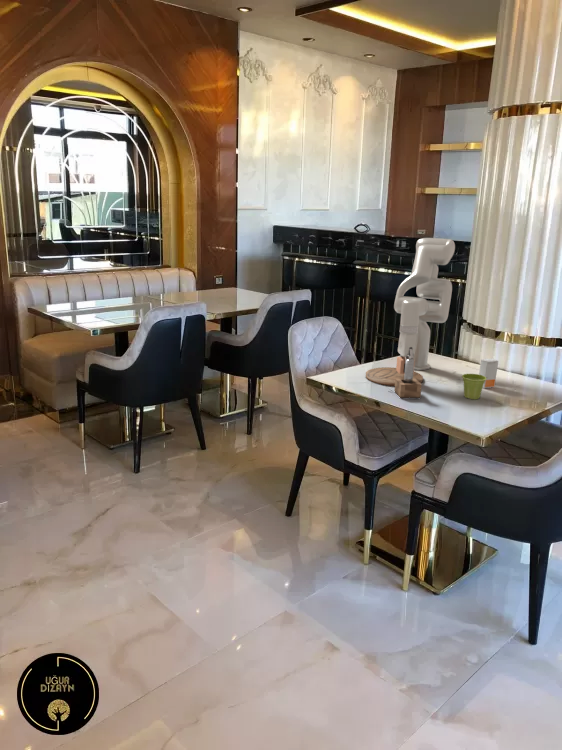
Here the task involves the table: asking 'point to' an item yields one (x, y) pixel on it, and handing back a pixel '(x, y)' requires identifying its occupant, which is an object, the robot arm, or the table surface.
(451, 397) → the table surface
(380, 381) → the trivet
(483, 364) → the skincare box
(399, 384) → the wooden box
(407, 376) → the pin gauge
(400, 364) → the pink cube with hole
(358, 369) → the table surface
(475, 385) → the plant pot
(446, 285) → the robot arm
